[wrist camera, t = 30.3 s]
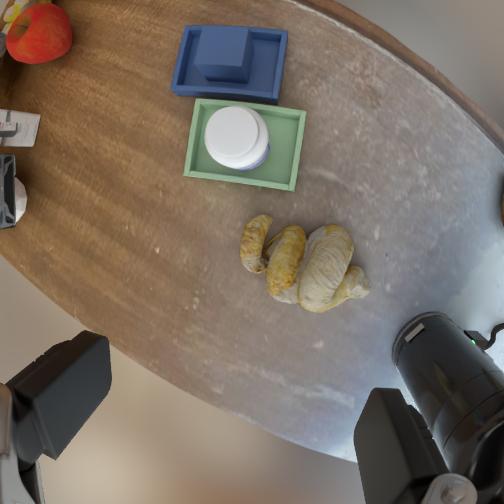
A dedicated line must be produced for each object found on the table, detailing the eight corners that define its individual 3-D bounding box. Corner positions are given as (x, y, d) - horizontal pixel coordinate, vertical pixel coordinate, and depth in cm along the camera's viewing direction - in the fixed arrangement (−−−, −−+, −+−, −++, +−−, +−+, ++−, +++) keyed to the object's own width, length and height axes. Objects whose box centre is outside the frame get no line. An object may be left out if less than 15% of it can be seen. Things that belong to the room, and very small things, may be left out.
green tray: (305, 116, 31) (306, 110, 28) (293, 191, 33) (294, 191, 30) (201, 103, 31) (195, 98, 29) (190, 175, 33) (183, 175, 31)
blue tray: (287, 40, 29) (287, 30, 26) (277, 104, 31) (277, 98, 28) (191, 34, 30) (185, 25, 27) (177, 95, 31) (170, 90, 29)
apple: (67, 16, 29) (24, -10, 19) (100, 29, 30) (54, -3, 19) (35, 64, 31) (-13, 47, 21) (64, 82, 32) (11, 63, 21)
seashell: (340, 354, 30) (218, 263, 28) (325, 332, 36) (221, 254, 34) (402, 276, 29) (288, 175, 27) (378, 266, 35) (279, 181, 33)
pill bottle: (218, 123, 31) (193, 100, 22) (269, 119, 31) (264, 93, 21) (221, 173, 32) (196, 168, 23) (272, 169, 32) (269, 163, 22)
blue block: (254, 48, 29) (249, 26, 24) (248, 84, 30) (241, 66, 25) (214, 46, 29) (202, 25, 24) (207, 81, 30) (193, 63, 25)
